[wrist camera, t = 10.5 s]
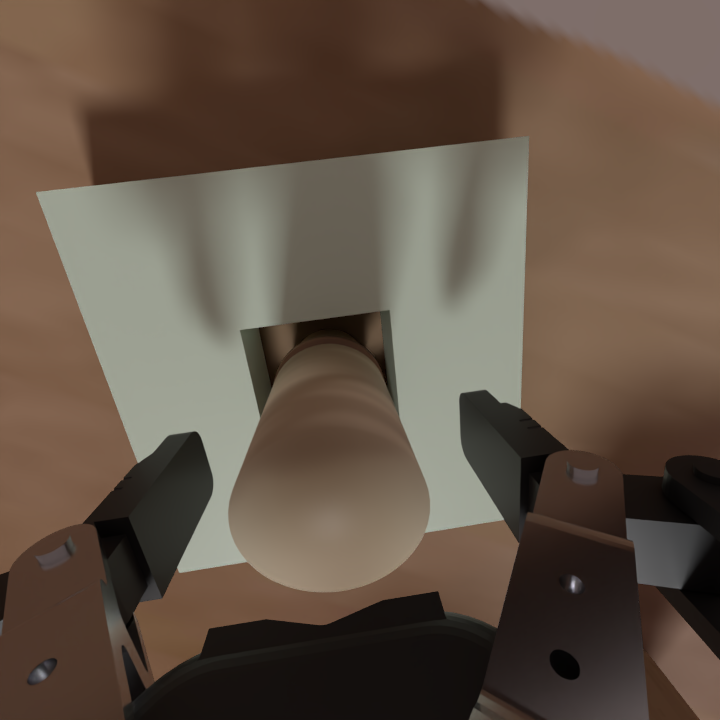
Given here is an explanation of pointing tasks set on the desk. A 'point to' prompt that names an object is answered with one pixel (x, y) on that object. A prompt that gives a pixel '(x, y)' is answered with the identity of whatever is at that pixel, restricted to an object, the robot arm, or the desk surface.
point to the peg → (328, 474)
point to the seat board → (304, 298)
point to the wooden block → (664, 695)
